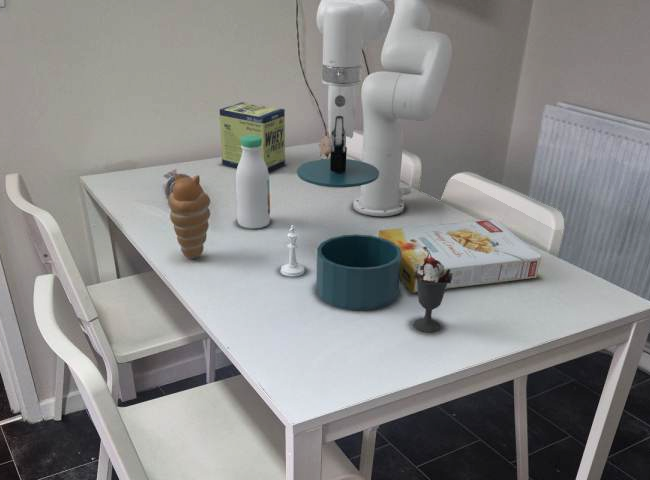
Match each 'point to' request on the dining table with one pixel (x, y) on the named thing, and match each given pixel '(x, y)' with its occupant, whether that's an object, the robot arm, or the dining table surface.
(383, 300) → the tin
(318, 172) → the tin lid
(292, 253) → the chess piece
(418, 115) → the robot arm
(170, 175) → the spaceship
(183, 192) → the cat ice cream
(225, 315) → the dining table surface
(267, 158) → the protein box
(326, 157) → the figurine
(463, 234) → the cereal box
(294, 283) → the dining table surface
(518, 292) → the dining table surface
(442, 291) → the sundae
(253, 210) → the milk bottle
